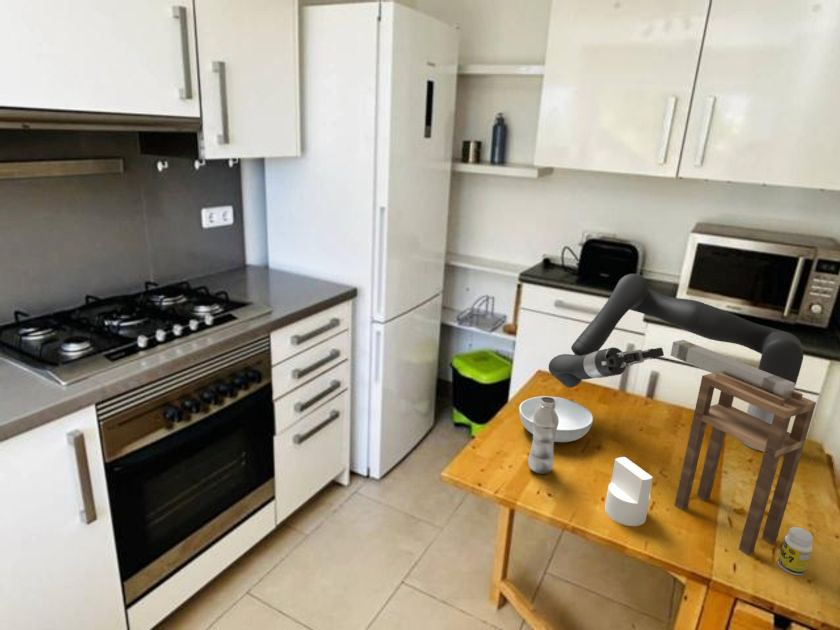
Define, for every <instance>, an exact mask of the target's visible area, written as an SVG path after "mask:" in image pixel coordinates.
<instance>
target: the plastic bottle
mask: <svg viewBox="0 0 840 630" xmlns="http://www.w3.org/2000/svg"><path fill="white" fill-rule="evenodd" d="M551 397H552V396H548V397H542V398H541V403H540V408H539V409H538V410H537V411H536V413H535V414H534V416H533V434H532V443H531V447H530V448H531V449H530V452H529V455H528V459H527V461H528V467H529V468H530V470H531V471H532V472H534V473H536V474H540V475H544V474H546V475H547V474H548V473H550V472H551V471H552V470H553V466H554V463H555V462H554V460H555V458H554V444H555V442H554V439H555V434H556V430H557V427H558V423H559V419H558V415H557V413H556V412H555V410H554V409H555V403H556V400H555V399H554V398H551Z"/></svg>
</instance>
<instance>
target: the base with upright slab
mask: <svg viewBox="0 0 840 630" xmlns="http://www.w3.org/2000/svg"><path fill="white" fill-rule="evenodd" d="M653 478H654V477H653V476H652V474H649V473H648V472H646V471H645V470H644V469H642V468H641V467H640V466H639V465H637V464H636V463H634V462H633V461H631V460H630V459H629V458H627V457H626V456H622V457H619V456H618V457H617V458H615V459H614V465H613V469H612V476H611V482H610V483H609V484H608V486H607V494H606V499H605V504H604V505H605V506H604V511H605V513H606V515H607V516H608V518H610V520H612V521H615V522H616V523H617V524H621V525H624V526H628V527H637V526H641V525H643V524H644V523H645V522H646V520H647V514H648V510H649V505H650V502H651V501H650V500H651V488H652V483H653Z"/></svg>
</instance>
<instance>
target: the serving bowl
mask: <svg viewBox="0 0 840 630" xmlns="http://www.w3.org/2000/svg"><path fill="white" fill-rule="evenodd" d="M542 397H549V396H547V395H546V396H545V395H544V396H534V397H531V398H527V399H526V400H523V401H522V402H521V403H520V404H519V409H518V411H519V418H520V422H521V423H522V425H523V427H524V428H525V429H526V430H527V431H528V432H529V433H530V434H532V435H533V416H534V414H535V413H536V411H537V410H538V409H539V408H540V403H541V398H542ZM550 397H551V398H554V399H555V400H556V403H555V409H554V410H555V412H556V413H557V415H558V419H559V423H558V427H557V430H556V434H555V439H554V443H569V442H573V441H577V440H579V439H581V438H582V437H585V435H587V433H588V432H589V431H590V430H591V427H592V426H593V425H592V424H593V422H594V416H593V413H592V412H591V411H590V410H589V409H588V408H587V407H586V406H584V405H582V404H581V403H578V402H576V401H573V400H571V399H566V398H563V397H557V396H550Z"/></svg>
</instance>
